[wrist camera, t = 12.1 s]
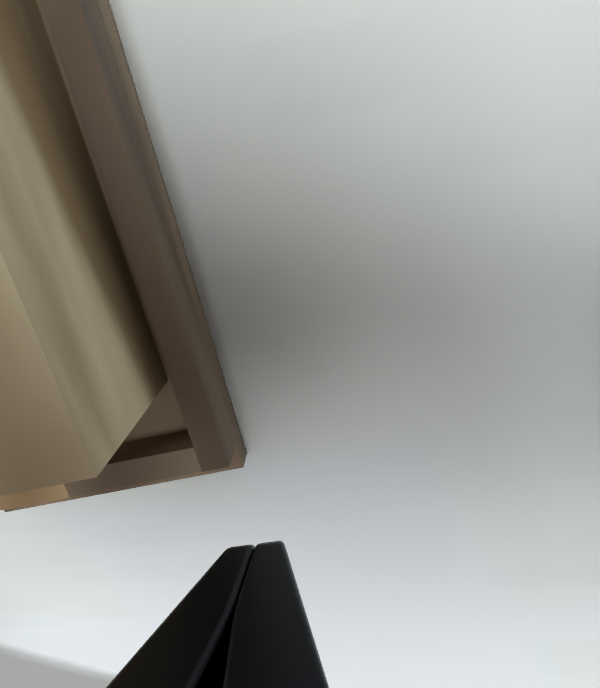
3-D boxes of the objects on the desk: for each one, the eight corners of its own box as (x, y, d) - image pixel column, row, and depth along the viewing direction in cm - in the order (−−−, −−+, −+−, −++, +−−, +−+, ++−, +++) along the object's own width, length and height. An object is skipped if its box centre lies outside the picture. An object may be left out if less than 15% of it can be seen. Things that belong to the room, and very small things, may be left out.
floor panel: (28, -261, 13) (-38, -361, 10) (246, 453, 19) (237, 490, 17) (-294, -144, 14) (-420, -211, 11) (19, 496, 20) (-20, 538, 18)
